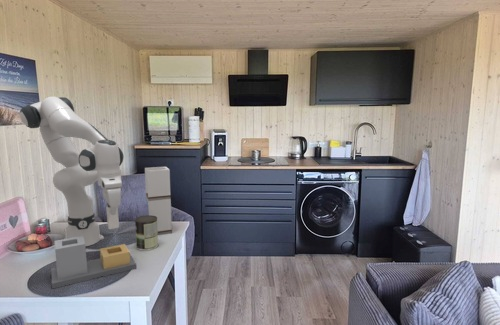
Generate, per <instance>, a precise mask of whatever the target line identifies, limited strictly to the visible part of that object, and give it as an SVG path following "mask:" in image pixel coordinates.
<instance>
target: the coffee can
mask: <svg viewBox="0 0 500 325" xmlns="http://www.w3.org/2000/svg"><path fill="white" fill-rule="evenodd" d="M134 225H135V239H136V240H135V241H136V242H135V244H136V250H140V251H151V250H154V249H156V248H158V247H159V238H158V236H159V235H158V231H157V217H156V216H152V215H149V214H148V215H142V216H141V215H140V216H137V217H136V218H134Z"/></svg>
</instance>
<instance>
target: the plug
mask: <svg viewBox="0 0 500 325" xmlns="http://www.w3.org/2000/svg"><path fill="white" fill-rule="evenodd" d="M105 206H106V208H105V209H106V219H107V221H106V222H107V228H108V229H109V230H113V229H114V230H115V229H118V228H120V223H119V222H120V221H119V209H118V208H119V207H116V214H115V215H111V211H110V210H111V208H110V206H109V204H108V203H107V202H106V205H105Z"/></svg>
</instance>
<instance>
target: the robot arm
mask: <svg viewBox="0 0 500 325" xmlns="http://www.w3.org/2000/svg"><path fill="white" fill-rule="evenodd" d="M19 115H20V120H21V121H22V123H23V125H25V127H27V128H30V129H39V131H40V132H39V133H40V134H41V135H40V136H41V137H42V140H43V143H44V144H45V146H46V148H47V150H48V152H49V153H50V155H51V157H52V159H53V160H54V161H55V162H56V163H58V164H60V165H63V166H64V168H62V169H60V170H58V171H57V172H55V173H54V175H53V177H52V183H53V186H54V187H55V189H57V190H58V191H60V192H61V193H62V194H63V196H64V199H65V200H66V203H67V205H66V206H67V213H68V216H67V224H68V226H67V227H66V228H65V229H64V239H68V238H73V237H79V236H83V238H84V241H85V247H89V246H92V245H95V244H97V243H98V242H100V241H102V240H104V239H105V237H104V235H102V234H100V224H99V223H98V222H96V215H95V213H94V200H93V198H92V197H91V196H90V195H88V193H87V191H86V189H85V187H87V186H88V187H89V186H90V185H93V184H94V183H96V182H97V185H98V186H99V187H101V189H102V197H103V199H104V200H105V201H106V204H107V203H108V204H109V206H110V208H111V210H110V211H111V215H115V214H116V207H118V208H119V207H121V201H122V190H121V189H122V187H123V182H122V170H121V169H120V168H121V166H122V165H123V162H124V159H125V157H124V156H125V155H124V153H123V151H122V149H121V148H120V147H119V145H118V143H117V142H116V141H114V140H111V139H108V138H107V137H106V136H105V135H103V133H101V132H100V131H99V130H98V128H96V127H95V126H94V125H92V124H91V123H89V122H88V121H86V120H84V119H83V118H82V117H80V116H79V115H78V114H76V112H75V107H74V105H73V103H72V102H71V100H70V99H69V98H67V97H65V96H64V97H63V96H61V97H60V96H59V97H58V96H47V97H45V98H44V99H43V100H41V101H38V102H35V103H32V104H27V105H25V106H23V107H21V108H20V110H19ZM72 138H75V139H76V138H77V139H82V140H85V141H87V142H89V143H91V144H92V146H90V147H87V148H84V149H82V150H81V151H79V150H78V148H77V146H76V145H75V143H74V142H73V139H72Z"/></svg>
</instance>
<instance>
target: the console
mask: <svg viewBox="0 0 500 325" xmlns="http://www.w3.org/2000/svg"><path fill="white" fill-rule="evenodd" d="M86 247H87V246H86ZM86 247H85V241H84V238H83V236H79V237H73V238H68V239H65V238H63V239H58V240H54V251H55V262H56V267H51V269H50V271H51V272H50V273H51V275H50V276H51V287H52V288H51V289H53V288H54V289H57V288H62V287H65V285H66V286H70V285H73V283H74V284H78V283H83V282H85V281H86V280H87V281H89V280H90V279H91V280H94V279H93V278H95V279H98V278H97V277H99V278H102V277H101V276H103V277H106V276H105V275H107V276H111V275H110V274H112V275H115V274H114V273H116V274H120V273H124V272H127V271H131V270H132V271H133V270H136V269H137V262H136V261H135V260H134V258H133V257H132V255H131V253H130V250H129V249H128V247H127V245H126V244H125V243H123V244H122V243H121V244H117V245H112V246H107V247H102V248H99V258H95V259H90V260H87V251H86V250H87V248H86ZM119 272H120V273H119ZM91 280H90V281H91ZM69 284H70V285H69ZM61 286H62V287H61Z"/></svg>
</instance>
